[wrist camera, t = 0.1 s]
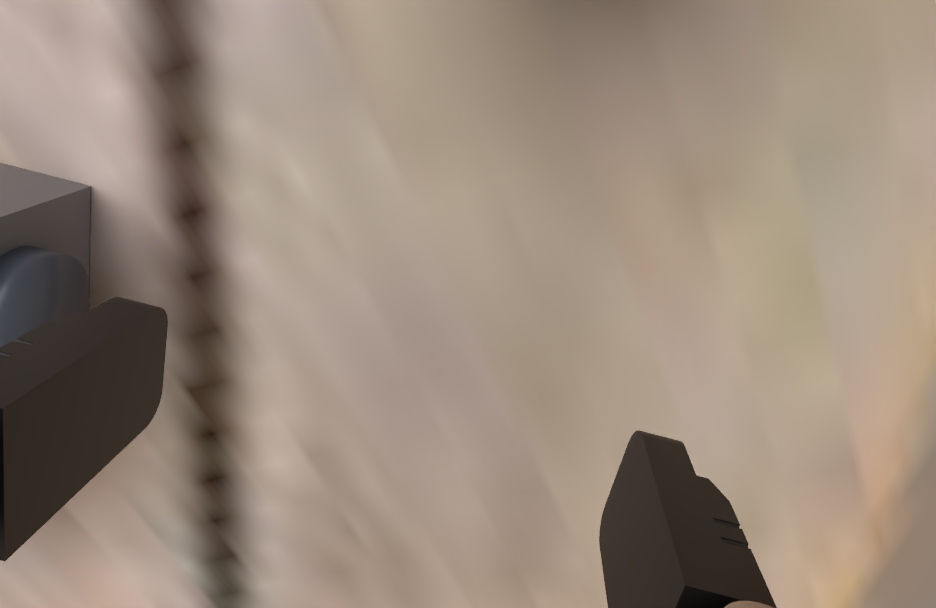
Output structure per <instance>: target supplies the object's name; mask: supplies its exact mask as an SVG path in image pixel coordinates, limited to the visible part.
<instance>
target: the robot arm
mask: <svg viewBox="0 0 936 608" xmlns="http://www.w3.org/2000/svg"><path fill="white" fill-rule="evenodd" d="M167 324H168V321H167V314H166V312H165V310H164V309H162V308H160V307H156V306H152V305H148V304H144V303H140V302H136V301H132V300H128V299H124V298H120V297H115V298H112V299H110V300H108V301H107V302H105V303H103V304H101V305H100V306H98V307H96V308H94V309H93V310H91V311H89V312H87V313H86V314H84V315H82V316H80V317H76V316H75V317H71V318H67V319H63V320H59V321H55V322H51V323H47V324H43V325H41V326H39V327H37V328H35V329H33V330H31V331H29V332H28V333H26V334H24V335H22V336H20V337H18V338H16V341H15V342H12V341H11V342H9V343H7V344H5V345H4V346H2V347H0V560H2V561H6V560H7V559H8V558H9V557H10V556H11V555H12V554H13V553H14V552H15V551H16V550H17V549H18V548H19V547H20V546H22V545H23V544H24V543H25V542H26V541H27V540H28V539H29V538H30V537H31V536H32V535H33V534H34V533H35V532H36V531H37V530H38V529H39V528H40V527H42V526H43V525H44V524H45V523H46V522H47V521H48V520H49V519H50V518H51V517H52V516H53V515H54V514H55V513H56V512H57V511H58V510H59V509H61V508H62V507H63V506H64V505H65V504H66V503H67V502H68V501H69V500H70V499H71V498H72V497H73V496H74V495H75V494H76V493H77V492H78V491H80V490H81V489H82V488H83V487H84V486H85V485H86V484H87V483H88V482H89V481H90V480H91V479H92V478H93V477H94V476H95V475H96V474H97V473H98V472H100V471H101V470H102V469H103V468H104V467H105V466H106V465H107V464H108V463H109V462H110V461H111V460H112V459H113V458H114V457H115V456H116V455H117V454H119V453H120V452H121V451H122V450H123V449H124V448H125V447H126V446H127V445H128V444H129V443H130V442H131V441H132V440H133V439H134V438H135V437H136V436H137V435H139V434H140V433H141V432H142V431H143V430H144V429H145V428H146V427H147V426H148V424H149V423H150V422H151V420H152V418H153V417H154V415H155V413H156V411H157V408H158V406H159V403H160V399H161V395H162V387H163V374H164V362H165V350H166V338H167ZM739 526H740V524H739V522H738V519H737V517H736V515H735V513H734V510H733V508H732V506H731V504H730V502H729V500H728V499H727V498H726V497H725V496H724V495H723V494H722V493H721V492H720V491H719V490H718V489H717V488H716V486H715V485H714V484H713V483H712V482H711V481H710V480H709V479H707V478H703V477H699V476H696V474H695V471H694V469H693V466H692V464H691V461H690V458H689V456H688V453H687V451H686V448H685V446H684V444H683V443H682V442H681V441H678V440H674V439H670V438H666V437H662V436H658V435H654V434H650V433H646V432H642V431H636V432H635V433H634V434H633V435H632V437H631V439H630V441H629V443H628V446H627V448H626V451H625V454H624V456H623V459H622V462H621V464H620V467H619V470H618V472H617V475H616V478H615V480H614V483H613V486H612V488H611V491H610V494H609V497H608V499H607V502H606V505H605V508H604V511H603V515H602V520H601V526H600V537H599V542H600V551H601V558H602V566H603V573H604V581H605V588H606V595H607V603H608V608H777V607H776V605H775V603H774V601H773V598H772V596H771V594H770V592H769V589H768V587H767V585H766V583H765V580H764V578H763V576H762V574H761V571H760V569H759V567H758V565H757V562H756V560H755V558H754V556H753V553H752V551H751V549H749V548H748V542H747V540H746V538H745V535H744V533H743V531H742V529H739Z"/></svg>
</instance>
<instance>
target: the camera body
mask: <svg viewBox="0 0 936 608" xmlns="http://www.w3.org/2000/svg"><path fill="white" fill-rule="evenodd" d="M90 193H91V186H87V185H83V184H80V183H76V182H72V181H68V180H64V179H60V178H56V177H52V176H48V175H45V174H41V173H37V172H33V171H29V170H25V169H21V168H17V167H13V166H9V165H6V164H2V163H0V347H2V346H4V345H5V344H7V343H9V342H11V341H12V342H15V341H16V338H18V337H20V336H22V335H24V334H26V333H28V332H29V331H31V330H33V329H35V328H37V327H39V326H41V325H43V324H47V323H51V322H55V321H59V320H63V319H67V318H71V317H75V316H76V317H80V316H82V315H84V314H86V313H87V312H89V258H90Z"/></svg>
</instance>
